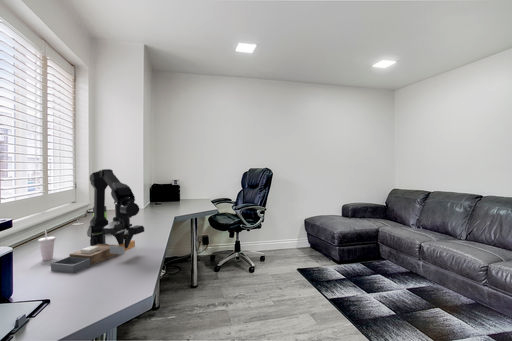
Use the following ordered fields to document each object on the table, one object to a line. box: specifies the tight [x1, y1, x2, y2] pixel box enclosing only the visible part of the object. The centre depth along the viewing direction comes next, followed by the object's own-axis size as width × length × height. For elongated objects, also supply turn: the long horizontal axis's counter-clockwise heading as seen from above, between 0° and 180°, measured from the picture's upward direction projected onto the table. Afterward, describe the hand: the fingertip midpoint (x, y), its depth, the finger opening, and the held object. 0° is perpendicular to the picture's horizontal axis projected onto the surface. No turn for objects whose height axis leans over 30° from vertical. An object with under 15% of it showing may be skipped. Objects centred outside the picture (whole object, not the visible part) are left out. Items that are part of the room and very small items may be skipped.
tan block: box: [68, 243, 118, 266], centre depth 119 cm, size 15×12×4 cm
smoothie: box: [37, 229, 56, 261], centre depth 120 cm, size 6×6×14 cm
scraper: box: [110, 239, 136, 255], centre depth 118 cm, size 10×7×3 cm
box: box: [50, 256, 92, 274], centre depth 108 cm, size 8×12×3 cm, turn 74°
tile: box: [80, 246, 99, 254], centre depth 117 cm, size 5×5×2 cm
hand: (124, 248), depth 118 cm, fingers closed on scraper, 2 cm apart
